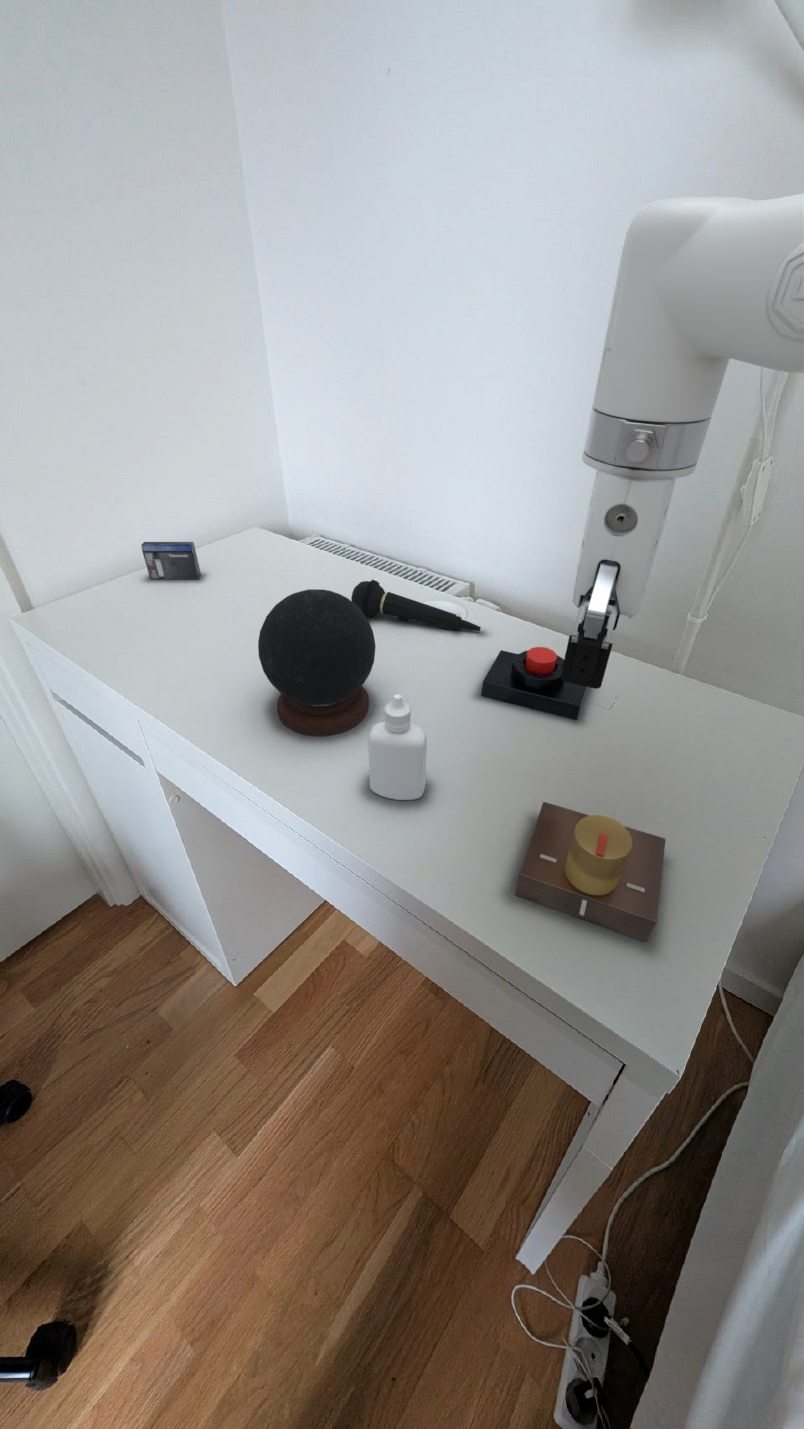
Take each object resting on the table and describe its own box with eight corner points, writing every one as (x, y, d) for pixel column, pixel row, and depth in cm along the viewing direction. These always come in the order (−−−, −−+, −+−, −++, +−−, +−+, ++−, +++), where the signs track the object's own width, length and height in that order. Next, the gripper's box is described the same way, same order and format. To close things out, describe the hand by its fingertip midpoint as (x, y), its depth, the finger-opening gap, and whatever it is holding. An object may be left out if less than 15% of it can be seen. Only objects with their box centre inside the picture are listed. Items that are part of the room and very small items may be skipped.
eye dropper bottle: (391, 765, 63) (390, 674, 55) (431, 789, 60) (436, 697, 53) (363, 787, 60) (358, 695, 53) (404, 813, 57) (405, 720, 50)
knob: (569, 845, 51) (580, 805, 48) (621, 861, 49) (636, 822, 46) (559, 884, 48) (570, 845, 44) (614, 903, 46) (630, 864, 43)
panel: (656, 859, 53) (666, 837, 51) (644, 962, 46) (655, 940, 44) (538, 822, 57) (543, 799, 55) (508, 911, 49) (513, 889, 47)
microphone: (477, 643, 88) (355, 609, 91) (487, 607, 86) (362, 573, 89) (472, 652, 83) (343, 615, 86) (483, 613, 81) (350, 577, 84)
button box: (588, 684, 75) (595, 658, 72) (576, 720, 69) (583, 693, 67) (498, 663, 79) (502, 638, 76) (480, 695, 73) (483, 669, 70)
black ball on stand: (312, 665, 78) (300, 560, 69) (397, 694, 73) (396, 585, 64) (246, 718, 69) (222, 606, 60) (337, 756, 64) (326, 640, 55)
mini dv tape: (150, 579, 98) (140, 545, 94) (153, 575, 99) (143, 541, 96) (198, 579, 98) (190, 545, 95) (201, 575, 99) (193, 541, 96)
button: (557, 662, 72) (559, 650, 71) (551, 677, 70) (553, 665, 69) (529, 656, 73) (531, 644, 72) (521, 670, 71) (523, 658, 70)
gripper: (699, 485, 32) (623, 722, 43) (703, 419, 44) (643, 616, 55) (563, 468, 34) (523, 698, 45) (603, 410, 47) (564, 601, 57)
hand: (589, 652), depth 50 cm, fingers open, 9 cm apart
